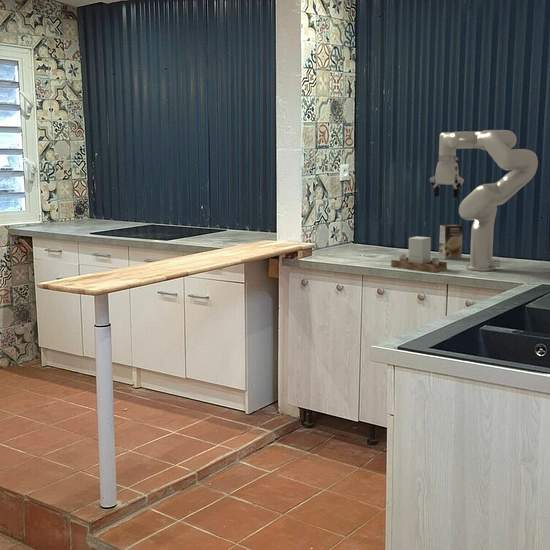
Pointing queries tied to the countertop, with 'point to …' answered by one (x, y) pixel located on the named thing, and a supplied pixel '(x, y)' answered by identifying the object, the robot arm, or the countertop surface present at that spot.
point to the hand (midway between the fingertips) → (446, 197)
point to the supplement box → (419, 249)
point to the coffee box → (450, 241)
